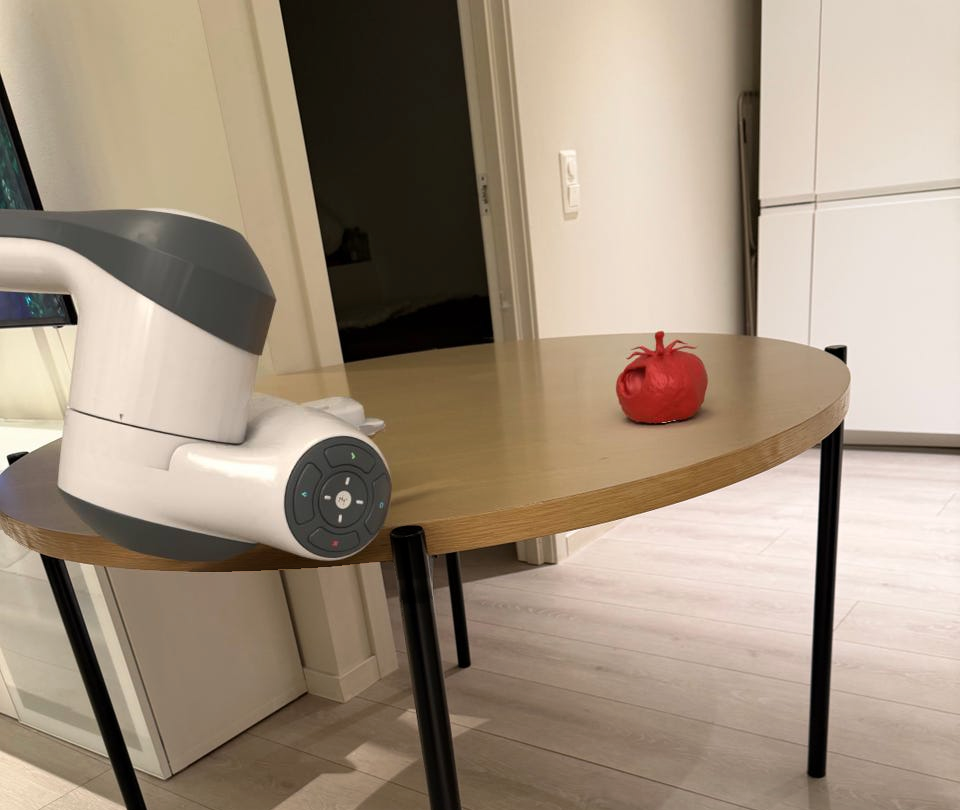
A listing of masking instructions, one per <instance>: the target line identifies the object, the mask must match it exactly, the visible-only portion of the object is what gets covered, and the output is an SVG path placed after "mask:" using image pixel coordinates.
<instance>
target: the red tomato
mask: <svg viewBox="0 0 960 810" xmlns="http://www.w3.org/2000/svg"><path fill="white" fill-rule="evenodd" d="M664 337H665V332H664V331H663V330H659V331H656V332H655V333H654V340H655V349H654V350H651V349H649V348H647V347H646V346H643V345H641V346H637V347H634V348H631V349H630V350H631V351H633V352H632V353H631V354H630V355H629V356H628V357H625V359H626V360H631V359H632V358H633V357H635V356H638V357H636V358H635V359H634V360H633V361H631V362H630V363H628V364H627V365H626V366H625V368H624V369H623V371H622V372H621V373H620V374H619V375H618V377H617V379H616V383H615V393H616V396H617V399H618V404H619V405H620V407H621V410H622V413H624V414H625V415H626V416H627V418H628V419H630V420H631V421H633V422H636V423H639V422H646V423H645V424H651V423H654V424H657V423H662V422H668V421H673V420H682V421H684V420H687V419H690V418H692V417H694V416H695V414H696V413H697V412H698V411H699V409H700V408H701V407H702V405H703V404H704V402H705V398H706V393H707V389H708V385H709V378H708V377H709V376H708V372H707V369H706V367H705V363H704V362H703V360H702V359H701V358H700V357H699V356H698V355H696V354H694V353H691V352H688V351H683V350H682V349H690V350H691V349H692V350H695V349H697V348H698V346H690V345H687V343H686V342H684V341H682V340H680V339H675V340H674V341H672V342H670V343H669V344H668V345H666V346H665V345H664ZM677 343H678V344H682V345H683V346H679V347H675V346H676V345H677ZM637 349H638V350H639V349H640V350H642V351H643V352H641V351H634V350H637ZM683 419H684V420H683Z"/></svg>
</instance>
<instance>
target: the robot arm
mask: <svg viewBox="0 0 960 810" xmlns="http://www.w3.org/2000/svg"><path fill="white" fill-rule="evenodd" d="M0 292H16V293H36V294H55V295H56V294H57V295H73V296H74V299H75V301H76V307H77V324H76V334H75V343H74V349H73V350H74V352H73V359H72V367H71V377H70V383H69V384H70V385H69V391H68V400H67V401H68V402H67V405H66V406H65V411H64V419H63V425H62V426H63V428H62V436H61V445H60V455H59V465H58V476H57V484H56V489H57V491H58V494H59V495H60V496H61V498H62V499H63V501H64V502H65V504H66V505H67V506H68V508H70V510H71V511H72V512H73V513H74V514H75V515H76V516H77V517H78V518H79V519H80V520H81V521H82V522H83V523H84V524H85V525H87V526H88V527H89V528H90V529H91V530H92V531H93V532H95V533H96V534H97V535H98V536H99V537H101V538H103V539H104V540H106V541H108V542H110V543H112V544H114V545H117V546H118V547H121V548H124V549H127V550H130V551H133V552H136V553H138V554H143V555H146V556H150V557H154V558H155V557H156V558H160V559H165V560H173V561H180V562H194V563H216V562H217V563H218V562H223V561H227V560H229V559H232V558H235V557H238V556H242V555H243V554H246V553H247V552H249V551H251V550H253V549H254V548H256V547H257V546H259V544H261V545H262V544H263V545H266V546H269V547H271V548H275V549H278V550H281V551H284V552H287V553H291V554H293V555H296V556H299V557H302V558H306V559H310V560H317V561H324V562H325V561H326V562H332V561H339V560H344V559H347V558H349V557H352V556H353V555H356V554H357V553H359V552H361V551H362V550H363V549H365V548H366V547H367V546H368V545H369V544H370V543H371V542H372V541H374V539H375V538H376V537H377V536H378V534H379V533H380V532H381V530H382V528H383V526H384V524H385V522H386V520H387V517H388V513H389V511H390V507H391V504H392V494H393V481H392V475H391V471H390V467H389V464H388V461H387V459H386V457H385V455H384V454H383V452H382V451H381V449H380V448H379V447H378V444H376V443H375V442H374V440H373V439H374V438H375V437H376V436H377V435H378V434H381V433H382V434H383V433H385V432H386V428H387V424H386V423H385V421H384V420H383V419H380V418H377V417H366V416H365V415H366V414H365V410H364V406H363V405H362V403H360V402H359V401H357V400H355V399H353V398H351V397H348V396H342V395H341V396H331V397H326V398H320V399H316V400H310V401H305V402H302V403H299V402H295V401H293V400H289V399H285V398H283V397H279V396H276V395H274V394H273V395H272V394H270V393H265V392H259V391H254V388H255V382H256V378H257V377H256V376H257V370H258V365H259V360H260V356H263V352H264V349H265V345H266V341H267V338H268V335H269V330H270V326H271V323H272V318H273V314H274V311H275V308H276V304H277V297H276V295H275V291H274V289H273V286H272V284H271V282H270V279H269V278H268V275H267V273H266V271H265V269H264V267H263V265H262V263H261V261H260V259H259V258H258V255H257V254H256V253H255V251H254V250H253V248H252V246H251V245H250V243H249V242H248V241H247V239H246V237H244V235H243V234H242V233H241V232H239V231H237V230H235V229H234V228H231V227H228V226H226V225H224V224H222V223H221V222H219V221H217V220H215V219H212V218H210V217H207V216H205V215H202V214H199V213H196V212H193V211H192V212H191V211H188V210H183V209H177V208H169V207H141V208H131V209H129V208H128V209H126V208H123V209H122V208H121V209H119V208H118V209H96V210H75V211H73V210H72V211H71V210H69V211H68V210H67V211H64V210H63V211H62V210H37V209H36V210H35V209H14V208H13V209H12V208H11V209H10V208H0Z"/></svg>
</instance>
